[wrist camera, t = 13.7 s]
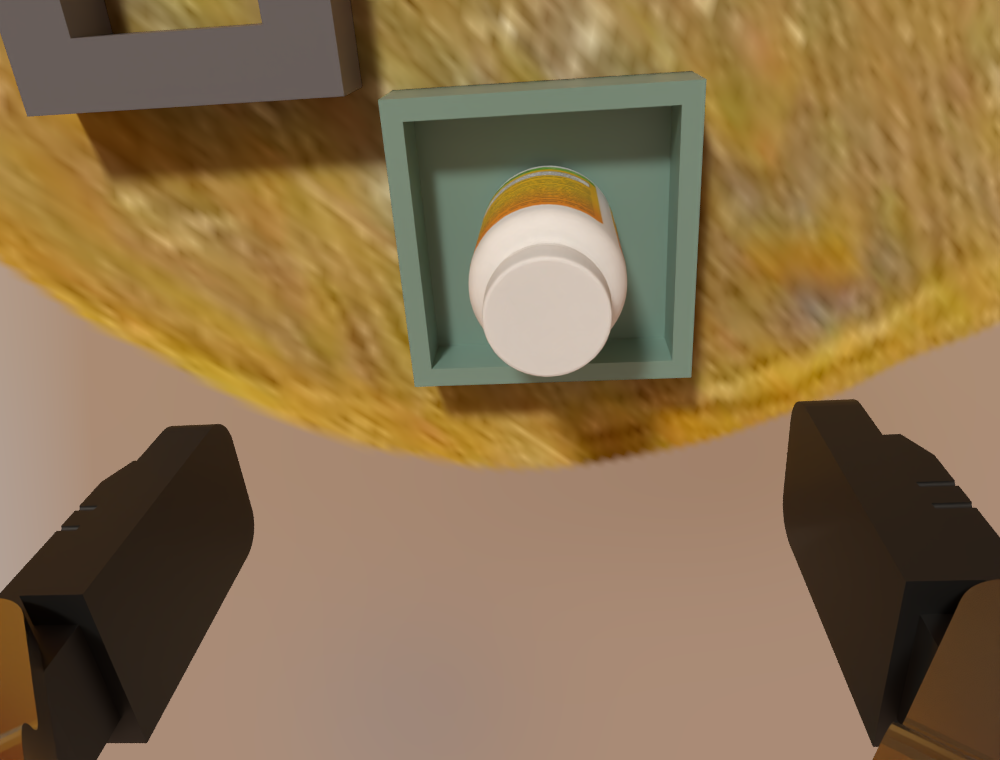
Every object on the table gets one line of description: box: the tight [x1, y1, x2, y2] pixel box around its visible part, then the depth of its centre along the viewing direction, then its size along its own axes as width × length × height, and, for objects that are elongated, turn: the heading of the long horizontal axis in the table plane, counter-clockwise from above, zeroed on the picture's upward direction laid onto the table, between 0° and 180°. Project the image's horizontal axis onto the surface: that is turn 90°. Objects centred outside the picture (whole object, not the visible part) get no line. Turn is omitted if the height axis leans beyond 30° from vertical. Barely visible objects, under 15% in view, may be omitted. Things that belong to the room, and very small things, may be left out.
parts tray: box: [378, 71, 706, 387], centre depth 31 cm, size 12×12×3 cm
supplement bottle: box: [469, 166, 627, 377], centre depth 28 cm, size 5×5×10 cm
